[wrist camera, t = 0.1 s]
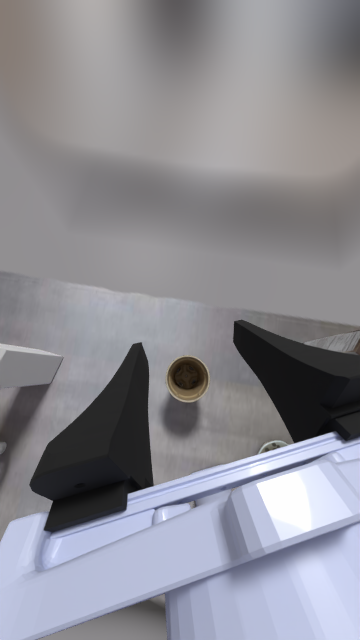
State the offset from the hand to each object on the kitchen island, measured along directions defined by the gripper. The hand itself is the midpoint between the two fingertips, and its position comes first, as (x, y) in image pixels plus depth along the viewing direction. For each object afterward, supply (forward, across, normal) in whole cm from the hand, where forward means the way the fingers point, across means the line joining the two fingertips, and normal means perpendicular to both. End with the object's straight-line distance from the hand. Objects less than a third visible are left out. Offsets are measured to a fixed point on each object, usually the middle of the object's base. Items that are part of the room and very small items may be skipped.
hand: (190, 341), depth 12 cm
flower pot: (+18, 0, +27) cm, 33 cm away
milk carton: (+27, +36, +20) cm, 49 cm away
